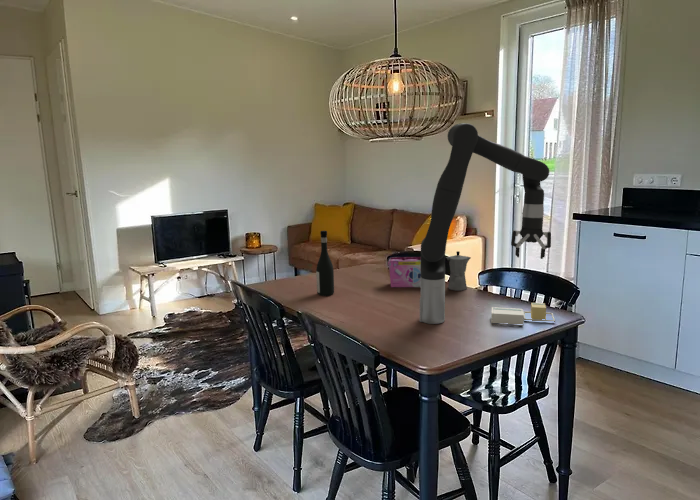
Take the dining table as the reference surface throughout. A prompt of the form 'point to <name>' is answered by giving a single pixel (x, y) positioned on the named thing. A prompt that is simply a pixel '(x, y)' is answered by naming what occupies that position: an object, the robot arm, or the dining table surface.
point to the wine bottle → (324, 270)
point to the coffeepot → (457, 271)
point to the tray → (538, 319)
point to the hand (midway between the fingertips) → (529, 257)
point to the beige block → (538, 311)
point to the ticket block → (507, 315)
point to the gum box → (405, 271)
